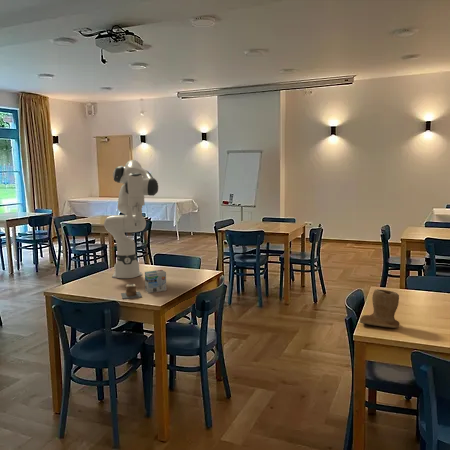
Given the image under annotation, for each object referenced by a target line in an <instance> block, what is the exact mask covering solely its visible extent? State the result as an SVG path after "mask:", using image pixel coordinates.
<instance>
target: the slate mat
mask: <svg viewBox="0 0 450 450" xmlns="http://www.w3.org/2000/svg"><path fill="white" fill-rule="evenodd" d="M120 295H121V297H122V298H121V299H122V300H127V299H128V300H129V299H139V298H143V295H142V294H141V291H136V296H127V295H126V292H121V293H120Z"/></svg>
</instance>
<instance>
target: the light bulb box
mask: <svg viewBox="0 0 450 450" xmlns="http://www.w3.org/2000/svg"><path fill="white" fill-rule="evenodd" d="M144 288H145V289H144V290H145V291H146V292H147V293H148V294H150V293H151V294H152V293H157V292H160V293H161V292H167V271H165V270H163V269H158V270H157V269H156V270H149V271H148V270H147V271H144Z"/></svg>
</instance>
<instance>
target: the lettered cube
mask: <svg viewBox="0 0 450 450" xmlns="http://www.w3.org/2000/svg"><path fill="white" fill-rule="evenodd" d="M136 292H137V285H136V284H135V283H128V284H125V293H126V295H127V296H136Z"/></svg>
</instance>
